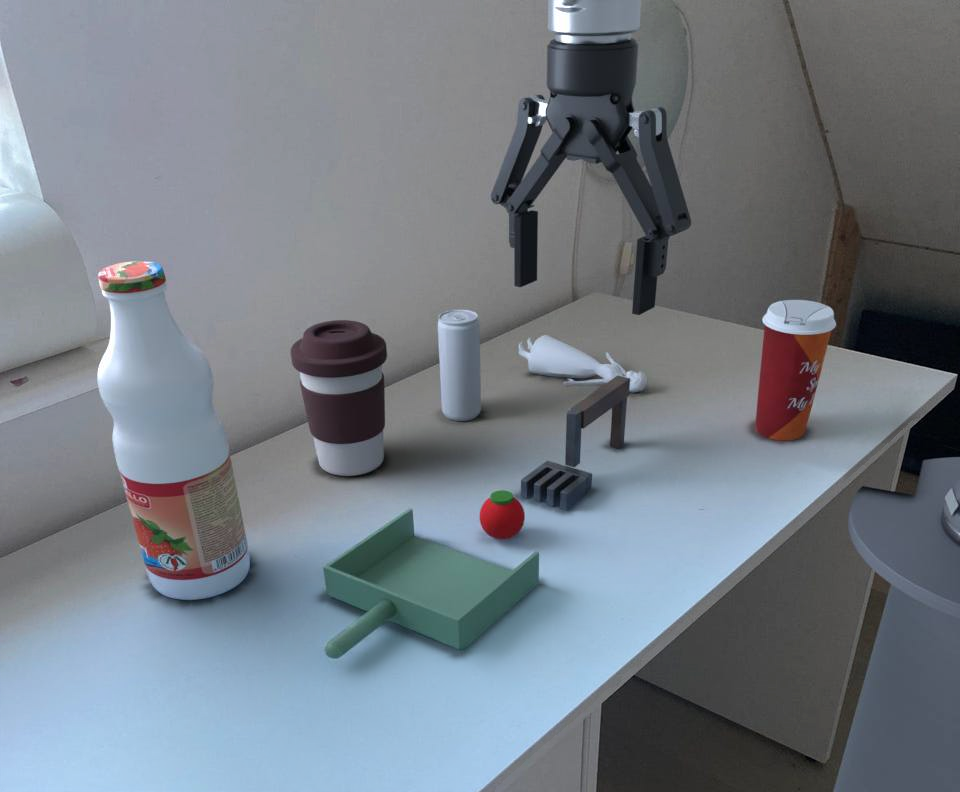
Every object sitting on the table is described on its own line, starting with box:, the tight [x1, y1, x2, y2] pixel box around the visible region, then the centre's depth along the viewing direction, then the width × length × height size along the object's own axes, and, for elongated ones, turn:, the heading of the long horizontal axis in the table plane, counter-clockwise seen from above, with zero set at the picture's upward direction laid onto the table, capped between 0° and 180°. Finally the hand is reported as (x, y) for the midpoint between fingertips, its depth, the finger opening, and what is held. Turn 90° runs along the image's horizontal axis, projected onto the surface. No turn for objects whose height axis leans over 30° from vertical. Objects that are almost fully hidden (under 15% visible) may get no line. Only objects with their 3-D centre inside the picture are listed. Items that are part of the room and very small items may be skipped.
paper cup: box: [755, 299, 837, 442], centre depth 109 cm, size 8×8×14 cm
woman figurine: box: [517, 334, 648, 394], centre depth 126 cm, size 12×4×18 cm
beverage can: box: [437, 309, 482, 422], centre depth 115 cm, size 5×5×12 cm
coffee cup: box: [290, 319, 388, 477], centre depth 105 cm, size 10×10×15 cm
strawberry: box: [478, 489, 526, 540], centre depth 95 cm, size 4×4×4 cm
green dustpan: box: [322, 507, 540, 660], centre depth 85 cm, size 20×15×3 cm
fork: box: [520, 376, 630, 511], centre depth 104 cm, size 16×6×8 cm, turn 145°
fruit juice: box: [96, 260, 251, 601], centre depth 84 cm, size 9×9×28 cm
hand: (582, 296), depth 93 cm, fingers open, 13 cm apart
